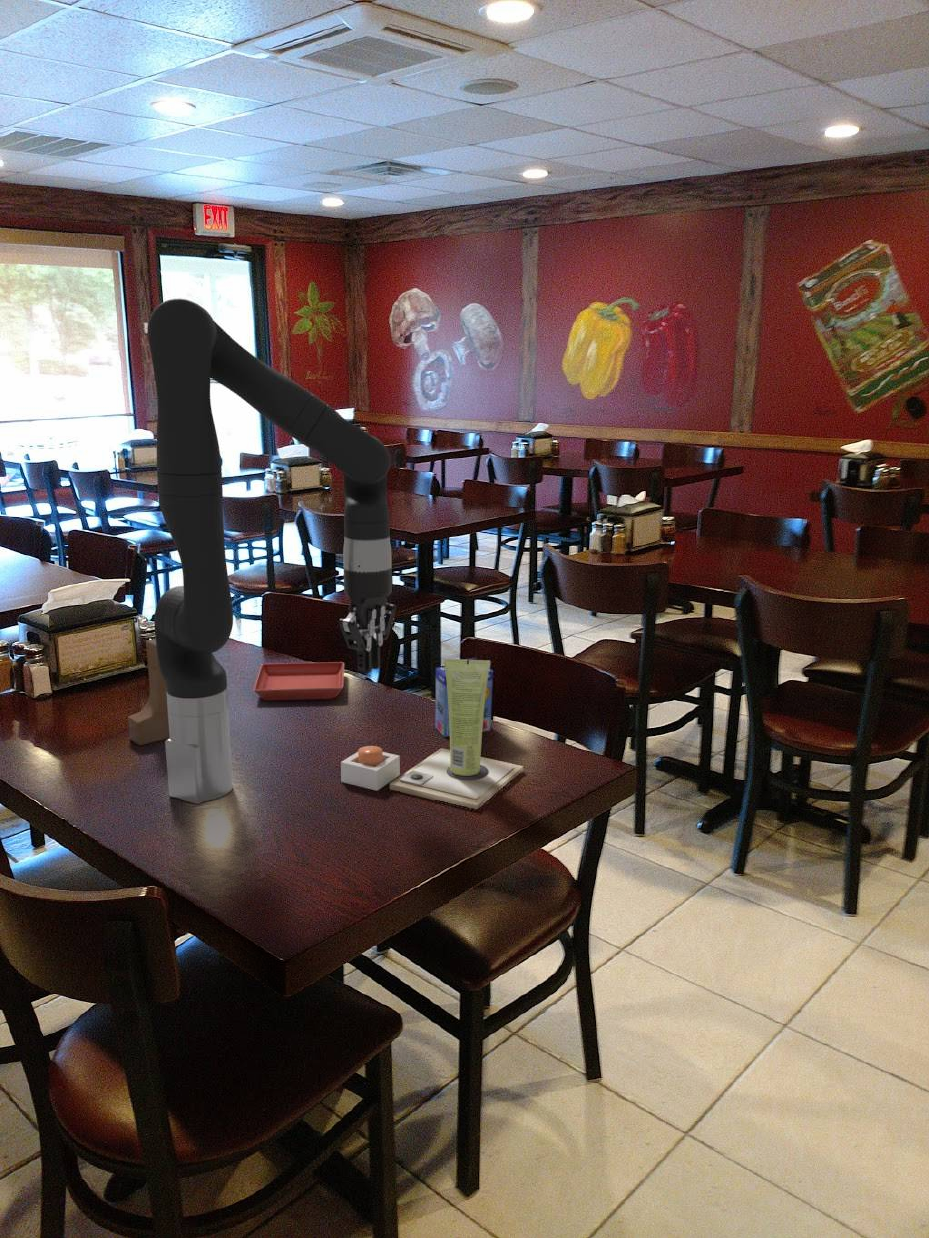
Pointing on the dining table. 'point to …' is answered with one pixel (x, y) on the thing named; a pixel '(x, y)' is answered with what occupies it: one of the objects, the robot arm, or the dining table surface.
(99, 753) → the dining table surface
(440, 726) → the ink cartridge box
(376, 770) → the button housing
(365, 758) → the button
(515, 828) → the dining table surface
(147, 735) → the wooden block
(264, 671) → the plant saucer
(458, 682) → the tube
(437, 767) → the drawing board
